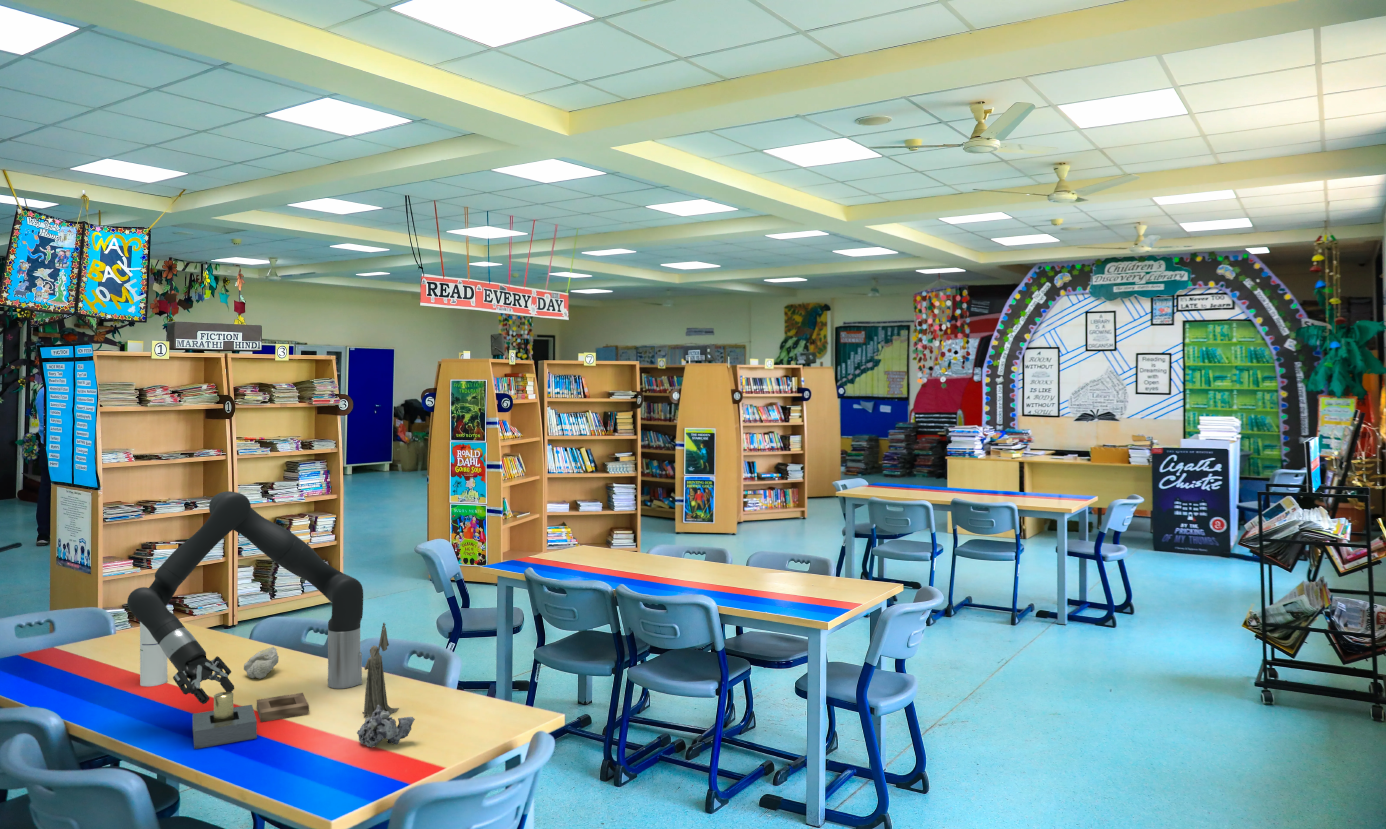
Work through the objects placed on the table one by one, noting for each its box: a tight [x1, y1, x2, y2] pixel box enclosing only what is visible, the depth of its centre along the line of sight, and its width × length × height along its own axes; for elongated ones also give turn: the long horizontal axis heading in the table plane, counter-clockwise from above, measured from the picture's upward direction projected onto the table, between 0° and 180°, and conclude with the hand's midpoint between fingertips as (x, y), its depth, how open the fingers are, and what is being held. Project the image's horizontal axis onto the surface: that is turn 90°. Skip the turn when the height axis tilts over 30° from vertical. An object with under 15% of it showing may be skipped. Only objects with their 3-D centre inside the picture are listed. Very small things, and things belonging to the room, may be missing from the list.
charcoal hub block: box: [192, 704, 258, 750], centre depth 230 cm, size 14×14×4 cm
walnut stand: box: [256, 692, 310, 723], centre depth 247 cm, size 12×12×2 cm
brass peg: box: [213, 691, 234, 723], centre depth 230 cm, size 4×4×10 cm
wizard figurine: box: [362, 622, 400, 719], centre depth 247 cm, size 10×8×25 cm
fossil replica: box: [243, 646, 279, 680], centre depth 278 cm, size 12×8×10 cm
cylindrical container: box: [139, 605, 168, 687], centre depth 270 cm, size 7×7×25 cm
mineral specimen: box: [356, 705, 416, 748], centre depth 225 cm, size 13×10×11 cm
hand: (219, 696), depth 230 cm, fingers open, 8 cm apart
